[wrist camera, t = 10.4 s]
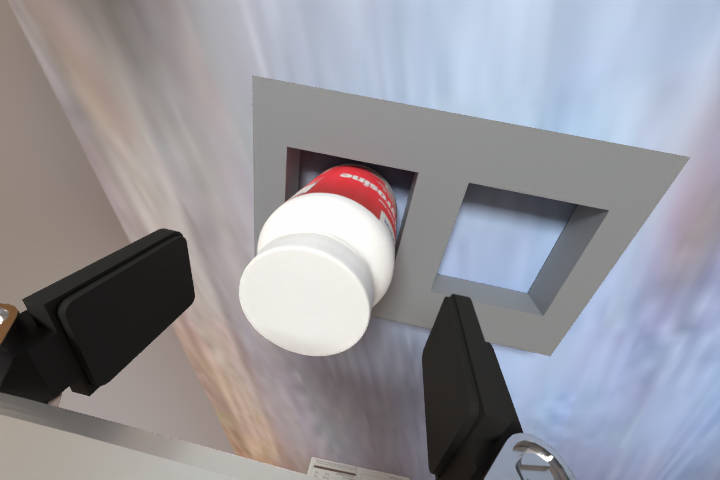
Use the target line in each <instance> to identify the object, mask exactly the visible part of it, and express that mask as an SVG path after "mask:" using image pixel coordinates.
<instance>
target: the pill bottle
mask: <svg viewBox="0 0 720 480" xmlns="http://www.w3.org/2000/svg"><path fill="white" fill-rule="evenodd" d="M396 217H397V206H396V199H395V195H394V193H393V190H392V188H391V187H390V185H389V184H388V182H387V181H386V180H385V179H384V178H383V176H381V175H380V174H379V173H378V172H376V171H375V170H373V169H371V168H369V167H367V166H364V165H361V164H355V163H345V164H340V165H336V166H334V167H331V168H329V169H328V170H326V171H324V172H323V173H322V174H320V175H319V176H318V177H316V178H315V179H314V180H312V181H311V182H310V183H309V184H307V185H306V186H305V187H303V188H302V189H301V190H300V191H298V192H297V193H296V194H295V195H294V196H292V197H291V198H290V199H288V200H287V201H286V202H284V203H283V204H282V205H281V206H280V207H279V208H278V209H277V210H275V211H274V212H273V213H272V215H271V216H270V217H269V218H268V220H267V221H266V223H265V224H264V226H263V228H262V230H261V233H260V236H259V240H258V246H257V255H256V256H255V258H254V259H253V260H252V261H251V262H250V263H249V264H248V266H247V267H246V269H245V270H244V272H243V275H242V277H241V280H240V285H239V298H240V302H241V306H242V309H243V311H244V313H245V315H246V317H247V319H248V320H249V322H250V323H251V324H252V326H253V327H254V328H255V329H256V330H257V331H258V332H259V333H260V334H261V335H263V336H264V337H265V338H266V339H268V340H269V341H270V342H272V343H273V344H275V345H277V346H279V347H281V348H283V349H286V350H288V351H291V352H294V353H298V354H301V355H307V356H328V355H334V354H337V353H340V352H343V351H345V350H347V349H349V348H351V347H352V346H353V345H355V344H356V343H357V342H358V341H359V340H360V339H361V337H362V336H363V335H364V333H365V331H366V329H367V327H368V324H369V321H370V316H371V311H372V307H373V306H375V305H376V304H377V303H378V302H379V301H380V300H381V298H382V297H383V296H384V295H385V293H386V291H387V289H388V287H389V285H390V283H391V280H392V276H393V271H394V263H395V242H396Z"/></svg>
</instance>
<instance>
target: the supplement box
mask: <svg viewBox="0 0 720 480" xmlns="http://www.w3.org/2000/svg"><path fill="white" fill-rule="evenodd" d="M307 475H309V476H313V477H317V478H320V479H324V480H411V478H409V477H404V476H400V475H395V474H390V473H385V472H381V471H376V470H371V469H366V468H362V467H357V466H352V465H348V464H343V463H338V462H333V461H329V460H324V459H319V458H315V457H311V460H310V464H309V468H308V472H307Z"/></svg>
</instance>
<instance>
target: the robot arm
mask: <svg viewBox="0 0 720 480" xmlns="http://www.w3.org/2000/svg"><path fill="white" fill-rule="evenodd" d="M194 298H195V292H194V286H193V280H192V273H191V267H190V261H189V254H188V248H187V241H186V239H185V238H184V237H183V235H182V234H181V233H180V232H177V231H173V230H168V229H159V230H157V231H155V232H153V233H151V234H149V235H147V236H145V237H143V238H141V239H139V240H137V241H135V242H133V243H132V244H130V245H128V246H126V247H124V248H122V249H120V250H118V251H116V252H114V253H112V254H110V255H108V256H106V257H104V258H102V259H100V260H98V261H97V262H94V263H92V264H91V265H89V266H87V267H85V268H83V269H81V270H79V271H77V272H75V273H73V274H71V275H69V276H67V277H65V278H63V279H61V280H59V281H57V282H55V283H53V284H51V285H49V286H48V287H46V288H44V289H42V290H40V291H38V292H36V293H34V294H32V295H30V296H28V297H26V298H24V299H23V302H24V304H25V306H26V307H27V309H28V310H26V311H24V312H22V313H19V311H18V309H17V308H16V307H15V306H13V305H10V304H2V303H0V480H324V479H320V478H317V477H313V476H309V475H306V474H302V473H299V472H295V471H291V470H288V469H284V468H281V467H277V466H273V465H270V464H266V463H263V462H259V461H255V460H252V459H248V458H245V457H241V456H237V455H234V454H230V453H226V452H223V451H219V450H215V449H212V448H208V447H204V446H201V445H197V444H193V443H189V442H186V441H182V440H179V439H175V438H171V437H168V436H164V435H160V434H156V433H153V432H149V431H145V430H142V429H138V428H134V427H130V426H127V425H123V424H120V423H116V422H112V421H108V420H104V419H100V418H97V417H93V416H89V415H86V414H82V413H78V412H74V411H71V410H67V409H63V408H59V407H58V406H59V403H60V399H61V396H62V392H63V391H64V390H65V389H66V388H68V387H69V386H70V388H71V390H72V392H76V393H80V394H83V395H87V396H90V395H91V394H92V393H94V392H95V390H96V389H98V388H99V387H100V386H102V385H105V384H106V383H108V382H110V381H111V380H112V379H113V378H114V377H115V376H116V375H117V374H118V373H119V372H120V371H121V370H122V369H123V368H125V367H126V366H127V365H128V364H129V363H130V362H131V361H132V360H133V359H134V358H135V357H136V356H137V355H138V354H139V353H141V352H142V351H143V350H144V349H145V348H146V347H147V346H148V345H149V344H150V343H151V342H152V341H153V340H154V339H155V338H156V337H158V336H159V335H160V334H161V333H162V332H163V331H164V330H165V329H166V328H167V327H168V326H169V325H170V324H171V323H172V322H174V321H175V320H176V319H177V318H178V317H179V316H180V315H181V314H182V313H183V312H184V311H185V310H186V309H187V308H188V307H189V306H190V305H191V304H192V303H193V301H194ZM422 368H423V384H424V399H425V415H426V431H427V447H428V462H429V470H430V473H432V474H435V476H436V480H576V479H575V477H574V475H573V473H572V471H571V469H570V468H569V467H568V465H567V464H566V463H565V461H564V460H563V459H562V457H561V456H560V455H559V454H558V453H557V452H556V451H555V450H554V449H553V448H552V447H550V446H549V445H548V444H546V443H545V442H543V441H542V440H541V439H539V438H536V437H534V436H532V435H530V434H524V433H523V431H522V428H521V425H520V422H519V419H518V417H517V414H516V411H515V408H514V405H513V403H512V400H511V397H510V394H509V391H508V389H507V386H506V383H505V380H504V377H503V375H502V372H501V369H500V366H499V363H498V360H497V358H496V355H495V352H494V349H493V347H492V345H491V344H490V343H489V342H485V339H484V336H483V333H482V330H481V327H480V324H479V321H478V318H477V315H476V312H475V309H474V306H473V303H472V300H471V298H470V297H467V296H462V295H458V294H452V295H451V296H450V297H447V296H446V297H445V298H444V300H443V302H442V305H441V307H440V310H439V312H438V315H437V317H436V320H435V322H434V325H433V327H432V330H431V332H430V335H429V337H428V340H427V342H426V345H425V347H424V350H423V355H422Z"/></svg>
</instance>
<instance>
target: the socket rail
mask: <svg viewBox="0 0 720 480" xmlns="http://www.w3.org/2000/svg"><path fill="white" fill-rule="evenodd" d="M252 77H253V157H254V237H255V256H256V255H257V246H258V240H259V236H260V233H261V230H262V228H263V226H264V224H265V223H266V221H267V220H268V218H269V217H270V216H271V215H272V213H273V212H274V211H275V210H277V209H278V208H279V207H280V206H281V205H282V204H283V203H284V202H286V201H287V200H288V199H290V198H291V197H292V196H294V195H295V194H296V193H297V192H298V186H299V170H300V155H301V149H302V150H307V151H312V152H317V153H322V154H327V155H332V156H337V157H342V158H347V159H352V160H357V161H362V162H367V163H372V164H377V165H382V166H388V167H393V168H398V169H403V170H408V171H413V172H414V176H413V180H412V184H411V188H410V192H409V195H408V199H407V203H406V207H405V211H404V215H403V219H402V223H401V226H400V230H399V234H398V238H397V242H396V246H395V263H394V271H393V276H392V280H391V283H390V285H389V287H388V289H387V291H386V293H385V295H384V296H383V297H382V298H381V300H380V301H379V302H378V303H377V304H376V305H375V306H373V307H372V311H371V316H374V317H379V318H383V319H388V320H392V321H397V322H401V323H405V324H410V325H414V326H419V327H423V328H428V329H432V327H433V325H434V322H435V320H436V317H437V315H438V312H439V310H440V307H441V305H442V302H443V300H444V298H445V297H446V296H447V297H450V296H451V295H452V294H458V295H462V296H467V297H470V298H471V300H472V303H473V306H474V309H475V312H476V315H477V318H478V321H479V324H480V327H481V330H482V333H483V336H484V339H485V342H490V343H494V344H499V345H503V346H508V347H512V348H517V349H521V350H526V351H530V352H534V353H539V354H543V355H548V356H551V355H552V353H553V352H554V350H555V349H556V348H557V346H558V345H559V343H560V342H561V340H562V339H563V338H564V336H565V335H566V333H567V332H568V330H569V329H570V328H571V326H572V325H573V323H574V322H575V321H576V319H577V318H578V316H579V315H580V313H581V312H582V311H583V309H584V308H585V306H586V305H587V304H588V302H589V301H590V299H591V298H592V296H593V295H594V294H595V292H596V291H597V289H598V288H599V286H600V285H601V284H602V282H603V281H604V279H605V278H606V277H607V275H608V274H609V272H610V271H611V269H612V268H613V267H614V265H615V264H616V262H617V261H618V259H619V258H620V257H621V255H622V254H623V252H624V251H625V250H626V248H627V247H628V245H629V244H630V242H631V241H632V240H633V238H634V237H635V235H636V234H637V232H638V231H639V230H640V228H641V227H642V225H643V224H644V223H645V221H646V220H647V218H648V217H649V215H650V214H651V213H652V211H653V210H654V208H655V207H656V205H657V204H658V203H659V201H660V200H661V198H662V197H663V196H664V194H665V193H666V191H667V190H668V188H669V187H670V186H671V184H672V183H673V181H674V180H675V178H676V177H677V176H678V174H679V173H680V171H681V170H682V169H683V167H684V166H685V164H686V163H687V161H688V160H689V159H690V157H686V156H680V155H675V154H670V153H664V152H659V151H654V150H648V149H643V148H638V147H632V146H627V145H622V144H616V143H611V142H605V141H600V140H595V139H589V138H584V137H579V136H573V135H568V134H563V133H557V132H552V131H547V130H541V129H536V128H531V127H525V126H520V125H514V124H509V123H504V122H498V121H493V120H488V119H482V118H477V117H472V116H466V115H461V114H456V113H450V112H445V111H439V110H434V109H429V108H423V107H418V106H413V105H407V104H402V103H397V102H391V101H386V100H381V99H375V98H370V97H364V96H359V95H354V94H348V93H343V92H338V91H332V90H327V89H322V88H316V87H311V86H306V85H300V84H295V83H290V82H284V81H279V80H273V79H268V78H263V77H257V76H252ZM469 183H473V184H478V185H483V186H488V187H494V188H499V189H504V190H509V191H514V192H519V193H524V194H529V195H534V196H539V197H544V198H549V199H554V200H559V201H564V202H569V203H574V204H578V205H577V207H576V208H575V210H574V212H573V214H572V215H571V217H570V219H569V221H568V223H567V224H566V226H565V228H564V230H563V231H562V233H561V235H560V237H559V239H558V240H557V242H556V244H555V246H554V247H553V249H552V251H551V253H550V255H549V256H548V258H547V260H546V262H545V263H544V265H543V267H542V269H541V271H540V272H539V274H538V276H537V278H536V279H535V281H534V283H533V285H532V287H531V288H530V290H529V292H528V293H523V292H518V291H514V290H509V289H505V288H500V287H495V286H491V285H486V284H481V283H477V282H472V281H467V280H463V279H458V278H453V277H449V276H444V275H439V274H437V271H438V268H439V265H440V263H441V260H442V257H443V254H444V251H445V249H446V246H447V243H448V240H449V237H450V235H451V232H452V229H453V226H454V223H455V220H456V218H457V215H458V212H459V209H460V206H461V204H462V201H463V198H464V195H465V192H466V190H467V187H468V184H469Z"/></svg>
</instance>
